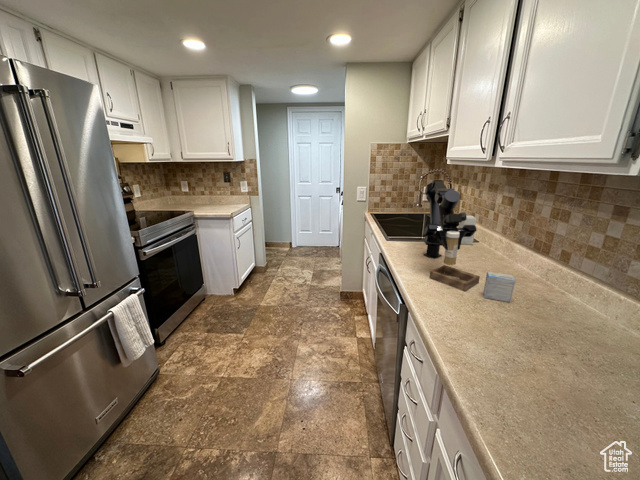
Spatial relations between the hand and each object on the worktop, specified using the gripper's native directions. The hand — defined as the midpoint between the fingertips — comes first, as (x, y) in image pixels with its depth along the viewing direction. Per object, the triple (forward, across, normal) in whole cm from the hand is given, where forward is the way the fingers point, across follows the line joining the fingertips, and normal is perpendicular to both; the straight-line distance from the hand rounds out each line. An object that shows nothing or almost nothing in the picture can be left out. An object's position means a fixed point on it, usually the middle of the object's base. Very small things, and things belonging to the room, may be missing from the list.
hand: (452, 249), depth 104 cm
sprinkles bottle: (+4, 0, +6) cm, 7 cm away
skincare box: (-26, +26, +46) cm, 59 cm away
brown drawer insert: (+10, +2, +9) cm, 13 cm away
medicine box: (+19, +12, 0) cm, 23 cm away
